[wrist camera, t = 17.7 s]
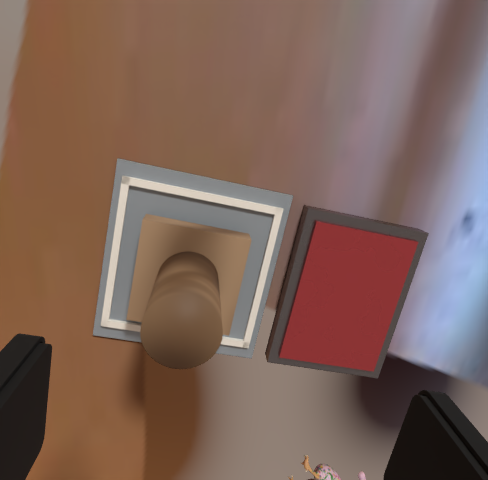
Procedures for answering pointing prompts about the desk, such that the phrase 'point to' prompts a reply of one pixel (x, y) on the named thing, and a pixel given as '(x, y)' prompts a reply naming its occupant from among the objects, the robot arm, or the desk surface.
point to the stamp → (186, 288)
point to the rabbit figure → (325, 472)
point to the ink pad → (343, 292)
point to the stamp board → (195, 211)
